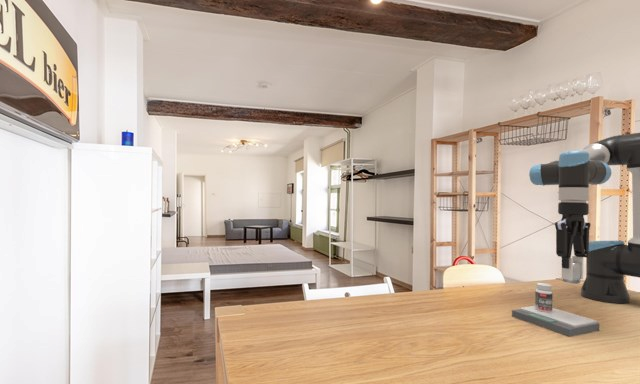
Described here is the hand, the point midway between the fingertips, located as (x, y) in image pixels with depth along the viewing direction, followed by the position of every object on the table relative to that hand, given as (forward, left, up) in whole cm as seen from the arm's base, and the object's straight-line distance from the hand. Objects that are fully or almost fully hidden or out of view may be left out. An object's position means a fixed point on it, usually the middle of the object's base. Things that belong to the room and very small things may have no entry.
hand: (572, 278), depth 106 cm
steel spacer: (0, 0, -1) cm, 1 cm away
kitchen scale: (+2, -5, -15) cm, 16 cm away
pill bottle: (0, -9, -12) cm, 15 cm away
